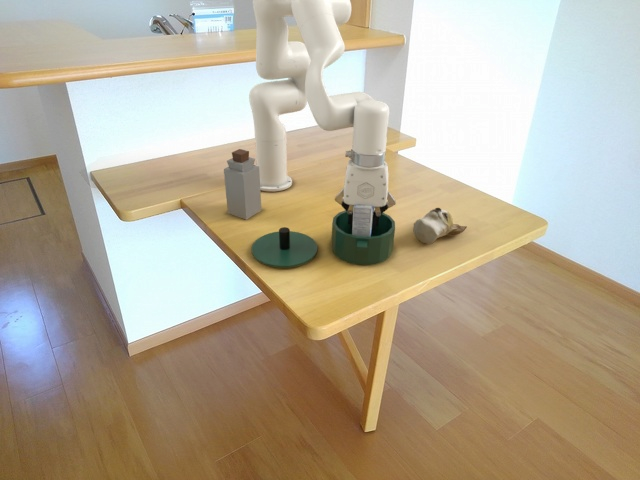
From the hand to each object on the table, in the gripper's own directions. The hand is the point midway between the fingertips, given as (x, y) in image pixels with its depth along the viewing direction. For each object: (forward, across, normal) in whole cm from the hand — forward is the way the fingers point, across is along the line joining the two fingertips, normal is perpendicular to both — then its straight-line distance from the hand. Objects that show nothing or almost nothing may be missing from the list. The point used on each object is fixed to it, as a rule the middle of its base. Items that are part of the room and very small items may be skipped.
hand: (363, 226), depth 118 cm
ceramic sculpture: (+6, +19, +9) cm, 22 cm away
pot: (+6, 0, 0) cm, 6 cm away
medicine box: (+2, 0, 0) cm, 2 cm away
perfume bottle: (+7, -34, +15) cm, 38 cm away
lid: (+6, -19, -4) cm, 20 cm away
